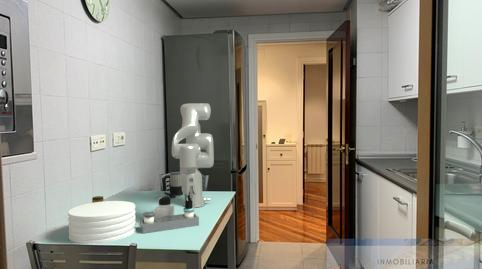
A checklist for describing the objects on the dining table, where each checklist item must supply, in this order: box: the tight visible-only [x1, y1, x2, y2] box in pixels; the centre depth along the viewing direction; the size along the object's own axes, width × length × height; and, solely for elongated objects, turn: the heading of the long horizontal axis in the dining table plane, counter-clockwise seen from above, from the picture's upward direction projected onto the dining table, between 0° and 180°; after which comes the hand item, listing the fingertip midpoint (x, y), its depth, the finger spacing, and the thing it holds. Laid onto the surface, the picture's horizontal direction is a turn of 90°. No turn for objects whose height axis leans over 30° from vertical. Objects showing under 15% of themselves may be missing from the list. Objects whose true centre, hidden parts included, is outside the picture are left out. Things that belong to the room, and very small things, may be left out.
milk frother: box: [162, 171, 184, 199], centre depth 232 cm, size 14×16×15 cm
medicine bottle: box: [154, 196, 175, 218], centre depth 173 cm, size 7×7×12 cm
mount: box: [139, 213, 200, 235], centre depth 164 cm, size 26×9×4 cm, turn 115°
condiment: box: [91, 195, 104, 203], centre depth 177 cm, size 7×8×12 cm
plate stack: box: [67, 200, 137, 245], centre depth 156 cm, size 28×28×12 cm
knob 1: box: [142, 211, 155, 223], centre depth 160 cm, size 5×5×7 cm
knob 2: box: [182, 207, 195, 218], centre depth 168 cm, size 5×5×7 cm
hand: (188, 208), depth 167 cm, fingers closed
